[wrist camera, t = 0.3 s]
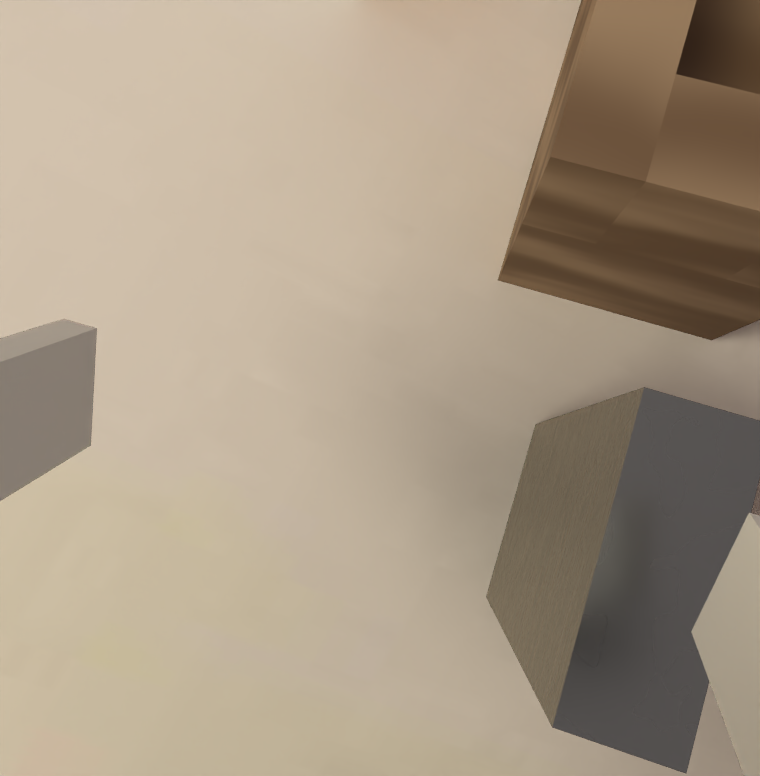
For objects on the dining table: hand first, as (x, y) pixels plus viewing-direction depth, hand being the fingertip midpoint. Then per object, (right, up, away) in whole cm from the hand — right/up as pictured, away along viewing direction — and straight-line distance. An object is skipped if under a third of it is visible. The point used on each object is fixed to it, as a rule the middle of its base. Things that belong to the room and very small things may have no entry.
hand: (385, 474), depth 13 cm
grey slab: (+7, -4, +16) cm, 18 cm away
